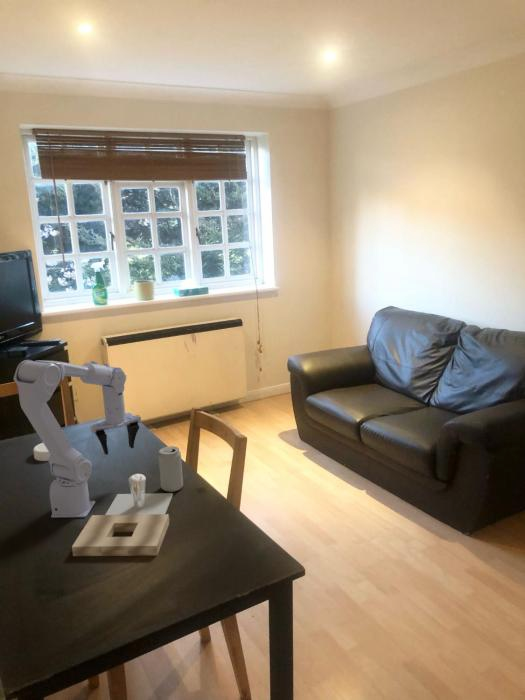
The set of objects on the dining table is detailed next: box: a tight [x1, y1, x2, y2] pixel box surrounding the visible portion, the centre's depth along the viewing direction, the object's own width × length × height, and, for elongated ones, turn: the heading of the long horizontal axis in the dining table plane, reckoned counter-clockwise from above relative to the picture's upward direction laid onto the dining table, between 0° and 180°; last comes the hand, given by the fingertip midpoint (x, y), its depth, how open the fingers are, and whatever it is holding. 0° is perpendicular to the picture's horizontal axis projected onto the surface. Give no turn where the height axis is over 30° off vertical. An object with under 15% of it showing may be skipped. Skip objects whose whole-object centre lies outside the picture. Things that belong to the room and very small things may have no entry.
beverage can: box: [157, 445, 184, 493], centre depth 158 cm, size 6×6×12 cm
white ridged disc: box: [32, 442, 51, 462], centre depth 186 cm, size 10×10×4 cm
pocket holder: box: [71, 513, 170, 557], centre depth 135 cm, size 20×14×2 cm
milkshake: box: [128, 473, 147, 509], centre depth 148 cm, size 4×5×10 cm
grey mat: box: [104, 492, 174, 515], centre depth 150 cm, size 16×12×1 cm
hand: (118, 450), depth 162 cm, fingers open, 7 cm apart
